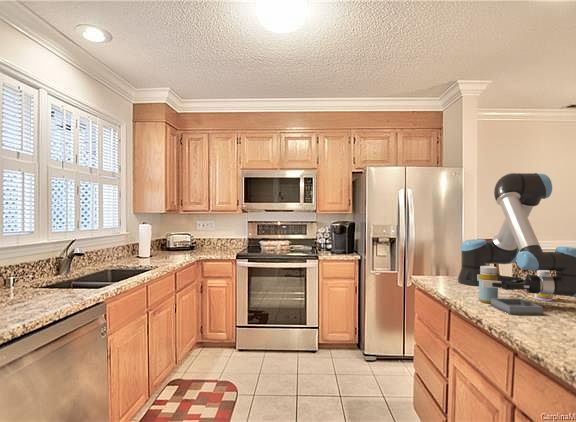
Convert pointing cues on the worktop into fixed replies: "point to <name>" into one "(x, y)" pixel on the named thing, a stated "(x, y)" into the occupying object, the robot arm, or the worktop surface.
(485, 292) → the bottle
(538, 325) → the worktop surface
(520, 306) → the tray
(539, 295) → the supplement bottle
